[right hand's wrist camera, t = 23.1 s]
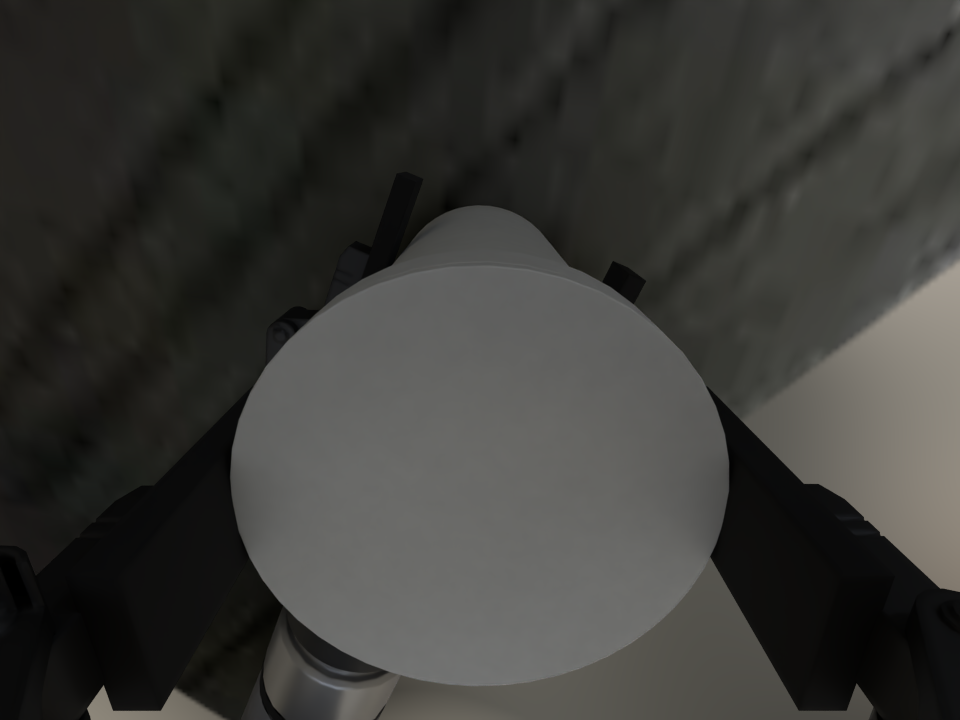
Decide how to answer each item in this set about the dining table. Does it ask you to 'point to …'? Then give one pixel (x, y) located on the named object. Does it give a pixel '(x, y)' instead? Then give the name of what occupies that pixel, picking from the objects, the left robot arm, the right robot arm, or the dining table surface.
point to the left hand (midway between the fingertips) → (522, 225)
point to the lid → (479, 470)
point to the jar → (479, 234)
